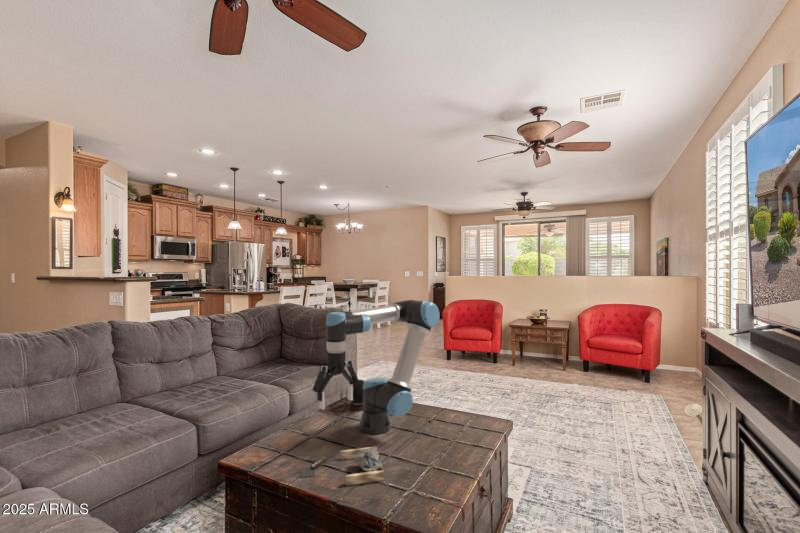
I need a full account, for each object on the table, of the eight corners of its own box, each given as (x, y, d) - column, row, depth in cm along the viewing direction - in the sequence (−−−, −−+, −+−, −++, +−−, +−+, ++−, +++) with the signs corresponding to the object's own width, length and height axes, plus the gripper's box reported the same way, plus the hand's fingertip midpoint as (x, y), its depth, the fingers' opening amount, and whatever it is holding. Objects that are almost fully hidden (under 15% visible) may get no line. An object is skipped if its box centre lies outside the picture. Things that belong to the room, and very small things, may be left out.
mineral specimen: (368, 485, 144) (373, 464, 153) (383, 474, 142) (387, 454, 151) (350, 469, 143) (356, 449, 152) (364, 458, 140) (370, 438, 150)
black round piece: (372, 403, 215) (372, 376, 215) (368, 412, 202) (368, 384, 202) (349, 402, 216) (349, 376, 216) (343, 411, 203) (343, 383, 203)
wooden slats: (374, 453, 158) (374, 446, 158) (384, 480, 138) (384, 471, 138) (340, 458, 154) (340, 450, 154) (345, 485, 135) (345, 477, 135)
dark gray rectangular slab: (314, 470, 145) (314, 469, 145) (314, 476, 141) (314, 475, 141) (300, 472, 144) (300, 471, 144) (300, 477, 140) (300, 477, 140)
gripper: (355, 345, 164) (355, 394, 164) (303, 354, 147) (303, 409, 147) (366, 347, 159) (366, 398, 159) (313, 358, 141) (314, 415, 142)
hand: (336, 404), depth 153 cm, fingers open, 13 cm apart
